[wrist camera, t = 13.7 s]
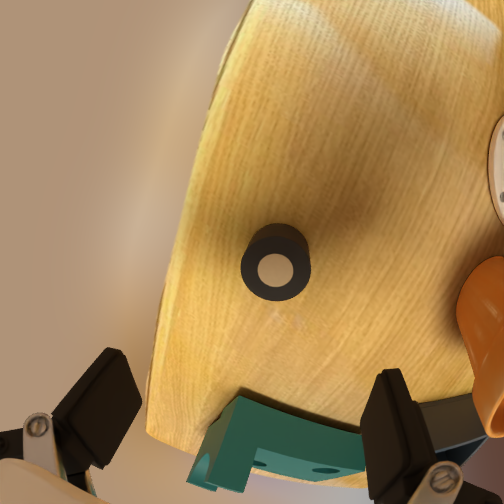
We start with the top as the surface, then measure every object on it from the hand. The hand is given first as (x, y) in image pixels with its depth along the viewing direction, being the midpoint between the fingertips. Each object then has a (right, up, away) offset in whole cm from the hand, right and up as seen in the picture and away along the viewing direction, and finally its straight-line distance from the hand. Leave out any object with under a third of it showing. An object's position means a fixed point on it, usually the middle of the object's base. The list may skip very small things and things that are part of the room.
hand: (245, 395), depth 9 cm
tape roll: (+2, +5, +13) cm, 14 cm away
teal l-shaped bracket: (+4, -19, +22) cm, 29 cm away
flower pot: (+24, +1, +12) cm, 27 cm away
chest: (+26, -19, +18) cm, 37 cm away
